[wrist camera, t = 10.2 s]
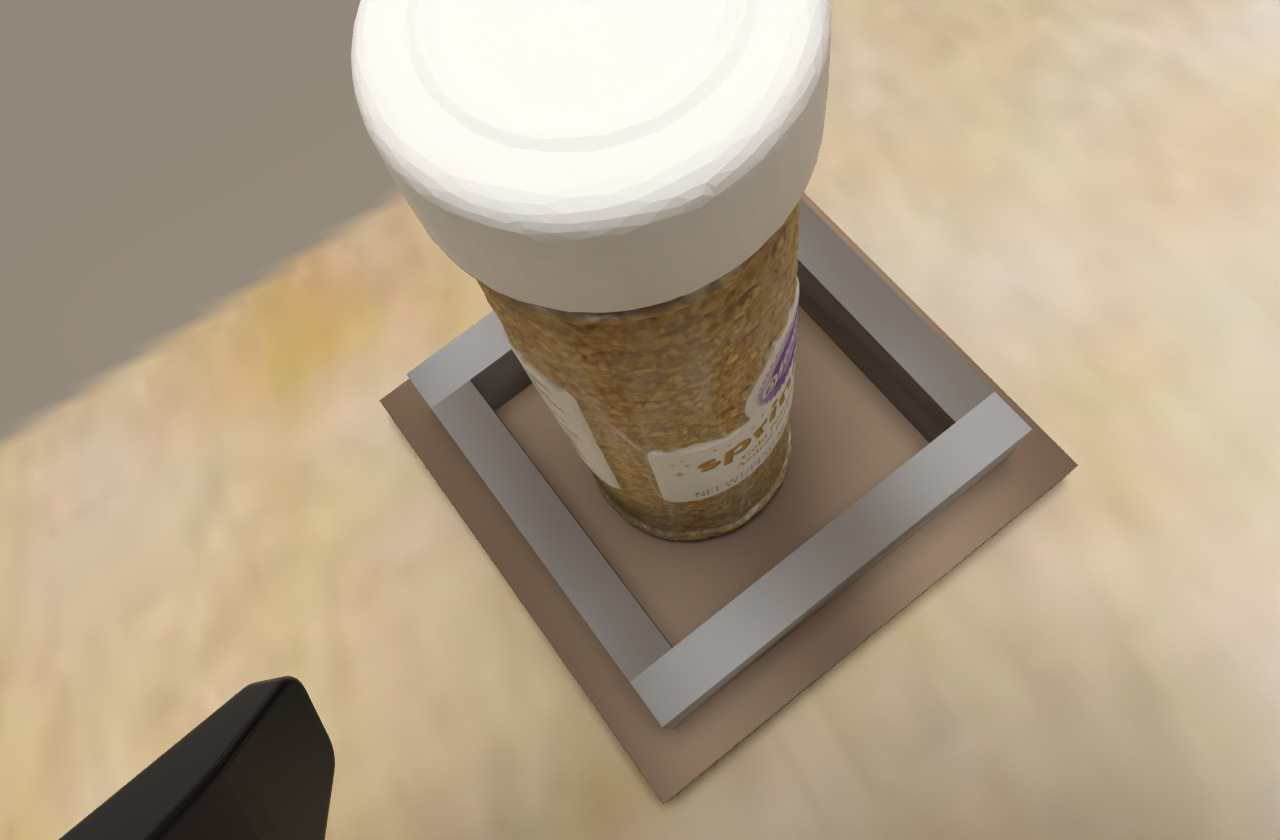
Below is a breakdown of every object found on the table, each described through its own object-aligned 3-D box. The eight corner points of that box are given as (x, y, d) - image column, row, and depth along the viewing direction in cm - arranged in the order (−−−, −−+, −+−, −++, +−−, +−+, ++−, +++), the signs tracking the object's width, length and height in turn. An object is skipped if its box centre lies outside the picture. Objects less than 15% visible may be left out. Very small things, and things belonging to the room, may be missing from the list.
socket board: (667, 801, 20) (651, 809, 17) (395, 414, 23) (344, 368, 21) (1064, 477, 21) (1110, 435, 18) (745, 156, 25) (742, 80, 22)
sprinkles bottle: (787, 552, 20) (826, 227, 8) (576, 536, 21) (285, 214, 8) (797, 351, 22) (845, -205, 9) (599, 342, 22) (382, -186, 10)
